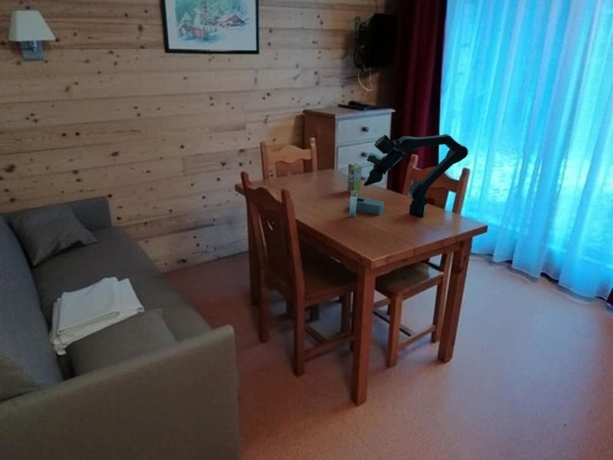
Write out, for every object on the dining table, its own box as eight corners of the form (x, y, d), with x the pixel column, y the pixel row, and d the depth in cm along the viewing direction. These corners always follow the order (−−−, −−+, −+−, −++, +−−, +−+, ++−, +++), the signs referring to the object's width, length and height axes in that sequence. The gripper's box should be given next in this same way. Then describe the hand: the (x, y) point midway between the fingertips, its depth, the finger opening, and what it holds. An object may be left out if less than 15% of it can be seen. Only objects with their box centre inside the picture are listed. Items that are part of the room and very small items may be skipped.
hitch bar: (383, 210, 217) (384, 201, 216) (379, 215, 212) (380, 206, 210) (354, 205, 223) (354, 196, 222) (348, 209, 217) (349, 200, 216)
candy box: (346, 190, 246) (348, 163, 240) (353, 190, 247) (355, 162, 241) (352, 195, 238) (354, 167, 232) (360, 195, 239) (362, 166, 234)
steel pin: (356, 215, 210) (358, 190, 206) (354, 217, 208) (356, 192, 203) (350, 214, 211) (352, 189, 207) (348, 216, 209) (349, 191, 204)
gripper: (380, 142, 212) (357, 165, 219) (374, 151, 195) (349, 175, 202) (397, 159, 212) (373, 181, 220) (392, 170, 196) (367, 193, 203)
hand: (365, 182), depth 211 cm, fingers open, 9 cm apart
